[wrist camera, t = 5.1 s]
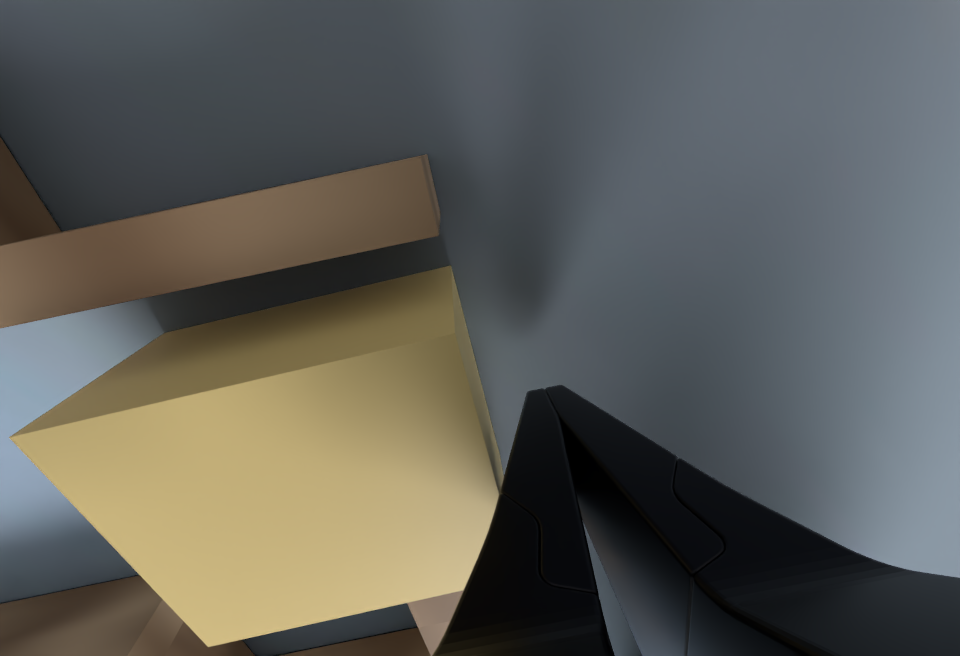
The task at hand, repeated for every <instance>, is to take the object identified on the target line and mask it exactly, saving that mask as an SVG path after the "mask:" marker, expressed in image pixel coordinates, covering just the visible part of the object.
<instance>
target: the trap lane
mask: <svg viewBox="0 0 960 656" xmlns="http://www.w3.org/2000/svg"><path fill="white" fill-rule="evenodd" d="M439 226H440V208H439V204H438V200H437V195H436V191H435V187H434V182H433V178H432V173H431V169H430V165H429V160H428V156H427V154H426V155H421V156H416V157H412V158H407V159H402V160H397V161H393V162H388V163H383V164H379V165H374V166H369V167H364V168H360V169H355V170H350V171H346V172H341V173H336V174H332V175H327V176H322V177H317V178H313V179H308V180H303V181H299V182H294V183H289V184H285V185H280V186H275V187H270V188H266V189H261V190H256V191H252V192H247V193H242V194H237V195H233V196H228V197H223V198H219V199H214V200H209V201H205V202H200V203H195V204H190V205H186V206H181V207H176V208H172V209H167V210H162V211H157V212H153V213H148V214H143V215H139V216H134V217H129V218H125V219H120V220H115V221H110V222H106V223H101V224H96V225H92V226H87V227H82V228H78V229H73V230H68V231H63V232H61V231H60V229H59V227H58V226H57V224H56V223H55V221H54V220H53V218H52V217H51V215H50V213H49V212H48V210H47V209H46V207H45V206H44V204H43V203H42V201H41V199H40V198H39V196H38V195H37V193H36V192H35V190H34V189H33V187H32V185H31V184H30V182H29V181H28V179H27V178H26V176H25V175H24V173H23V171H22V170H21V168H20V167H19V165H18V164H17V162H16V161H15V159H14V157H13V156H12V154H11V153H10V151H9V150H8V148H7V147H6V145H5V144H4V142H3V140H2V139H1V137H0V328H4V327H9V326H14V325H18V324H23V323H28V322H33V321H37V320H42V319H47V318H52V317H56V316H61V315H66V314H71V313H75V312H80V311H85V310H90V309H94V308H99V307H104V306H109V305H113V304H118V303H123V302H128V301H132V300H137V299H142V298H147V297H151V296H156V295H161V294H165V293H170V292H175V291H180V290H184V289H189V288H194V287H199V286H203V285H208V284H213V283H218V282H222V281H227V280H232V279H237V278H241V277H246V276H251V275H256V274H260V273H265V272H270V271H275V270H279V269H284V268H289V267H294V266H298V265H303V264H308V263H312V262H317V261H322V260H327V259H331V258H336V257H341V256H346V255H350V254H355V253H360V252H365V251H369V250H374V249H379V248H384V247H388V246H393V245H398V244H403V243H407V242H412V241H417V240H422V239H426V238H431V237H436V236H439ZM462 593H463V590H462V591H458V592H453V593H449V594H444V595H440V596H435V597H431V598H426V599H422V600H417V601H413V602H408V603H407V604H408V606H409V608H410V611H411V613H412V615H413V617H414V620H415V622H416V624H417V626H418V628H413V629H408V630H403V631H398V632H393V633H388V634H383V635H378V636H373V637H368V638H363V639H358V640H354V641H349V642H344V643H339V644H334V645H329V646H324V647H319V648H314V649H309V650H304V651H299V652H294V653H290V654H285V655H280V656H432V655H433V653H434V652H435V650H436V648H437V647H438V645H439V643H440V641H441V639H442V637H443V635H444V633H445V631H446V629H447V627H448V625H449V622H450V620H451V618H452V616H453V613H454V611H455V609H456V606H457V604H458V602H459V599H460V597H461V595H462ZM0 656H255V655H254V654H253V653H252V652H251V650H250V649H249V648H248V647H247V645H246V644H245V643H244V642H243V640H238V641H233V642H229V643H224V644H220V645H215V646H211V647H208V646H207V645H206V644H205V643H204V642H203V641H202V640H201V639H200V638H199V637H198V636H197V635H196V634H195V633H194V632H193V631H192V630H191V629H190V627H189V626H188V625H187V624H186V623H185V622H184V621H183V620H182V619H181V618H180V617H179V616H178V615H177V614H176V613H175V612H174V611H173V610H172V609H171V607H170V606H169V605H168V604H167V603H166V602H165V601H164V600H163V599H162V598H161V597H160V596H159V595H158V594H157V593H156V592H155V591H154V590H153V589H152V587H151V586H150V585H149V584H148V583H147V582H146V581H145V580H144V579H143V578H142V577H141V576H140V575H139V576H134V577H129V578H124V579H120V580H115V581H110V582H105V583H100V584H95V585H90V586H85V587H81V588H76V589H71V590H66V591H61V592H56V593H51V594H46V595H42V596H37V597H32V598H27V599H22V600H17V601H12V602H7V603H3V604H0Z"/></svg>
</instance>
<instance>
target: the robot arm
mask: <svg viewBox="0 0 960 656" xmlns="http://www.w3.org/2000/svg"><path fill="white" fill-rule="evenodd" d="M582 520H583V521H582ZM583 522H584V524H585V527H586V529H587V531H588V533H589V536H590V538H591V540H592V543H593V545H594V547H595V549H596V552H597V554H598V556H599V558H600V561H601V563H602V565H603V568H604V570H605V572H606V574H607V577H608V579H609V581H610V583H611V586H612V588H613V590H614V593H615V595H616V597H617V599H618V602H619V604H620V606H621V609H622V611H623V613H624V615H625V618H626V620H627V622H628V624H629V627H630V629H631V631H632V634H633V636H634V638H635V640H636V643H637V645H638V647H639V649H640V652H641V654H642V656H960V578H957V577H950V576H943V575H937V574H930V573H923V572H917V571H912V570H907V569H903V568H899V567H895V566H891V565H888V564H885V563H882V562H879V561H876V560H873V559H871V558H868V557H866V556H864V555H861V554H859V553H856V552H854V551H852V550H850V549H848V548H846V547H844V546H842V545H840V544H838V543H836V542H834V541H832V540H830V539H828V538H826V537H824V536H822V535H820V534H818V533H816V532H814V531H812V530H810V529H808V528H806V527H804V526H803V525H801V524H799V523H797V522H795V521H793V520H791V519H789V518H787V517H785V516H783V515H781V514H779V513H777V512H775V511H773V510H771V509H769V508H767V507H765V506H763V505H761V504H760V503H758V502H756V501H754V500H752V499H750V498H748V497H746V496H744V495H743V494H741V493H739V492H737V491H735V490H733V489H731V488H729V487H728V486H726V485H724V484H722V483H720V482H719V481H717V480H715V479H714V478H712V477H710V476H709V475H707V474H705V473H704V472H702V471H700V470H698V469H697V468H695V467H694V466H692V465H690V464H689V463H687V462H685V461H684V460H682V459H678V458H677V456H676V455H674V454H672V453H671V452H669V451H668V450H666V449H664V448H663V447H661V446H659V445H658V444H656V443H655V442H653V441H651V440H650V439H648V438H647V437H645V436H643V435H642V434H640V433H639V432H637V431H635V430H634V429H632V428H631V427H629V426H627V425H626V424H624V423H623V422H621V421H619V420H618V419H616V418H615V417H613V416H611V415H610V414H608V413H606V412H605V411H603V410H602V409H600V408H598V407H597V406H595V405H594V404H592V403H590V402H589V401H587V400H586V399H584V398H582V397H581V396H579V395H578V394H576V393H574V392H573V391H571V390H570V389H568V388H566V387H565V386H563V385H557V386H552V387H547V388H546V389H537V390H532V391H528V392H527V394H526V398H525V402H524V405H523V409H522V413H521V416H520V420H519V424H518V427H517V431H516V435H515V438H514V442H513V446H512V449H511V453H510V457H509V460H508V464H507V468H506V472H505V475H504V479H503V483H502V486H501V490H500V495H499V497H498V500H497V504H496V508H495V511H494V514H493V517H492V521H491V524H490V527H489V530H488V533H487V535H486V538H485V541H484V543H483V546H482V548H481V551H480V553H479V556H478V558H477V560H476V563H475V565H474V567H473V570H472V572H471V574H470V576H469V579H468V581H467V583H466V586H465V588H464V590H463V593H462V595H461V597H460V599H459V602H458V604H457V606H456V609H455V611H454V613H453V616H452V618H451V620H450V622H449V625H448V627H447V629H446V631H445V633H444V635H443V637H442V639H441V641H440V643H439V645H438V647H437V648H436V650H435V652H434V653H433V655H432V656H615V655H614V652H613V649H612V646H611V642H610V639H609V636H608V632H607V628H606V624H605V620H604V616H603V612H602V608H601V603H600V599H599V594H598V589H597V585H596V580H595V576H594V571H593V567H592V562H591V557H590V553H589V548H588V544H587V539H586V535H585V530H584V525H583Z"/></svg>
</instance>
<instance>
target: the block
mask: <svg viewBox="0 0 960 656" xmlns="http://www.w3.org/2000/svg"><path fill="white" fill-rule="evenodd" d="M9 438H10V439H11V440H12V441H13V442H14V443H15V444H16V445H17V446H18V447H19V449H20V450H21V451H22V452H23V453H24V454H25V455H26V456H27V457H28V458H29V459H30V460H31V461H32V462H33V463H34V464H35V465H36V466H37V467H38V469H39V470H40V471H41V472H42V473H43V474H44V475H45V476H46V477H47V478H48V479H49V480H50V481H51V482H52V483H53V484H54V485H55V486H56V487H57V489H58V490H59V491H60V492H61V493H62V494H63V495H64V496H65V497H66V498H67V499H68V500H69V501H70V502H71V503H72V504H73V505H74V506H75V507H76V509H77V510H78V511H79V512H80V513H81V514H82V515H83V516H84V517H85V518H86V519H87V520H88V521H89V522H90V523H91V524H92V525H93V526H94V527H95V529H96V530H97V531H98V532H99V533H100V534H101V535H102V536H103V537H104V538H105V539H106V540H107V541H108V542H109V543H110V544H111V545H112V546H113V547H114V549H115V550H116V551H117V552H118V553H119V554H120V555H121V556H122V557H123V558H124V559H125V560H126V561H127V562H128V563H129V564H130V565H131V566H132V567H133V569H134V570H135V571H136V572H137V573H138V574H139V575H140V576H141V577H142V578H143V579H144V580H145V581H146V582H147V583H148V584H149V585H150V586H151V587H152V589H153V590H154V591H155V592H156V593H157V594H158V595H159V596H160V597H161V598H162V599H163V600H164V601H165V602H166V603H167V604H168V605H169V606H170V607H171V609H172V610H173V611H174V612H175V613H176V614H177V615H178V616H179V617H180V618H181V619H182V620H183V621H184V622H185V623H186V624H187V625H188V626H189V627H190V629H191V630H192V631H193V632H194V633H195V634H196V635H197V636H198V637H199V638H200V639H201V640H202V641H203V642H204V643H205V644H206V645H207V646H208V647H211V646H215V645H220V644H224V643H229V642H233V641H238V640H242V639H247V638H251V637H256V636H260V635H265V634H269V633H274V632H278V631H283V630H287V629H292V628H296V627H301V626H305V625H310V624H314V623H319V622H323V621H328V620H332V619H337V618H341V617H346V616H350V615H355V614H359V613H364V612H368V611H373V610H377V609H382V608H386V607H391V606H395V605H399V604H404V603H408V602H413V601H417V600H422V599H426V598H431V597H435V596H440V595H444V594H449V593H453V592H458V591H462V590H464V588H465V586H466V583H467V581H468V579H469V576H470V574H471V572H472V570H473V567H474V565H475V563H476V560H477V558H478V556H479V553H480V551H481V548H482V546H483V543H484V541H485V538H486V535H487V533H488V530H489V527H490V524H491V521H492V517H493V514H494V511H495V508H496V504H497V500H498V497H499V495H500V490H501V486H502V483H503V479H504V475H503V470H502V464H501V459H500V454H499V450H498V446H497V442H496V439H495V435H494V431H493V427H492V423H491V419H490V415H489V411H488V407H487V404H486V400H485V396H484V392H483V388H482V384H481V380H480V376H479V373H478V369H477V365H476V361H475V357H474V353H473V349H472V345H471V341H470V338H469V334H468V330H467V326H466V322H465V318H464V314H463V310H462V306H461V303H460V299H459V295H458V291H457V287H456V283H455V279H454V275H453V272H452V268H451V266H446V267H442V268H438V269H434V270H429V271H425V272H421V273H417V274H412V275H408V276H404V277H400V278H396V279H391V280H387V281H383V282H379V283H374V284H370V285H366V286H362V287H357V288H353V289H349V290H345V291H340V292H336V293H332V294H328V295H323V296H319V297H315V298H311V299H307V300H302V301H298V302H294V303H290V304H285V305H281V306H277V307H273V308H268V309H264V310H260V311H256V312H251V313H247V314H243V315H239V316H234V317H230V318H226V319H222V320H218V321H213V322H209V323H205V324H201V325H196V326H192V327H188V328H184V329H179V330H175V331H171V332H167V333H164V334H162V335H161V336H159V337H158V338H156V339H155V340H153V341H152V342H150V343H149V344H147V345H146V346H144V347H143V348H141V349H140V350H138V351H137V352H135V353H134V354H132V355H131V356H129V357H128V358H126V359H125V360H123V361H122V362H120V363H119V364H117V365H116V366H114V367H113V368H112V369H110V370H109V371H107V372H106V373H104V374H103V375H101V376H100V377H98V378H97V379H95V380H94V381H92V382H91V383H89V384H88V385H86V386H85V387H83V388H82V389H80V390H79V391H77V392H76V393H74V394H73V395H71V396H70V397H68V398H67V399H65V400H64V401H62V402H61V403H59V404H58V405H57V406H55V407H54V408H52V409H51V410H49V411H48V412H46V413H45V414H43V415H42V416H40V417H39V418H37V419H36V420H34V421H33V422H31V423H30V424H28V425H27V426H25V427H24V428H22V429H21V430H19V431H18V432H16V433H15V434H13V435H12V436H10V437H9Z"/></svg>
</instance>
